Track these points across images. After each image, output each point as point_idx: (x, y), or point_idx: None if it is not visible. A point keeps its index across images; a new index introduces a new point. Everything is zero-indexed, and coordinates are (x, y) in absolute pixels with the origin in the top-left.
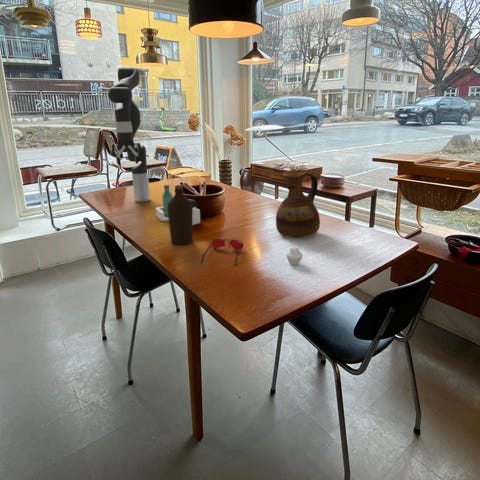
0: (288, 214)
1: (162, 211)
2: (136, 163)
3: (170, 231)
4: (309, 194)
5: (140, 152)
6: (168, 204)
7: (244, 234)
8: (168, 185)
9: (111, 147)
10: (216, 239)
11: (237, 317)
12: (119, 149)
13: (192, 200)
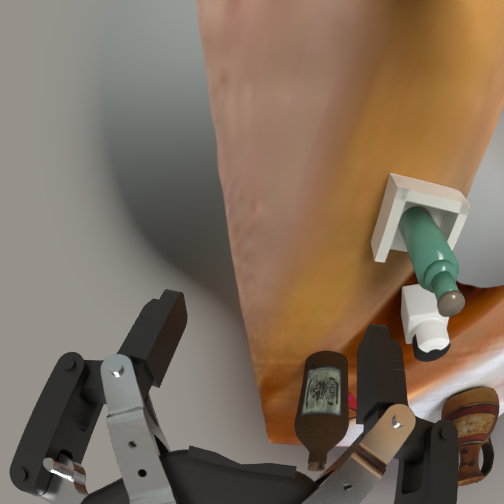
0: None
1: (388, 250)
2: (358, 354)
3: (303, 379)
4: (486, 445)
5: (412, 467)
6: (296, 431)
7: (428, 378)
8: (455, 312)
9: (23, 441)
10: (351, 407)
11: (275, 439)
12: (122, 462)
13: (436, 357)
